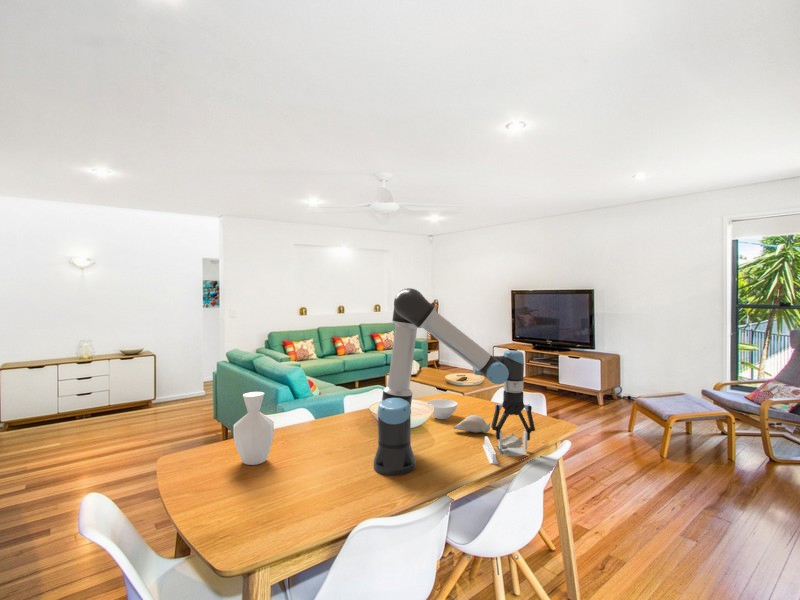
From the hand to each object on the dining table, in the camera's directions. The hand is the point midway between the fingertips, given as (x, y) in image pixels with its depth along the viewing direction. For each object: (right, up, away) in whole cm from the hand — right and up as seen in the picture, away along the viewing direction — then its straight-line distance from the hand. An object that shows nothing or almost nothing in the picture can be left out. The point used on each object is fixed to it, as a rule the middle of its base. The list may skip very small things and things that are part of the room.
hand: (512, 447), depth 154 cm
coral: (-2, -2, +1) cm, 3 cm away
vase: (-99, -2, -7) cm, 99 cm away
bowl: (-23, -2, +46) cm, 52 cm away
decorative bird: (-18, -3, +22) cm, 28 cm away
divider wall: (-9, -2, -3) cm, 10 cm away
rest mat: (+1, -2, 0) cm, 2 cm away
